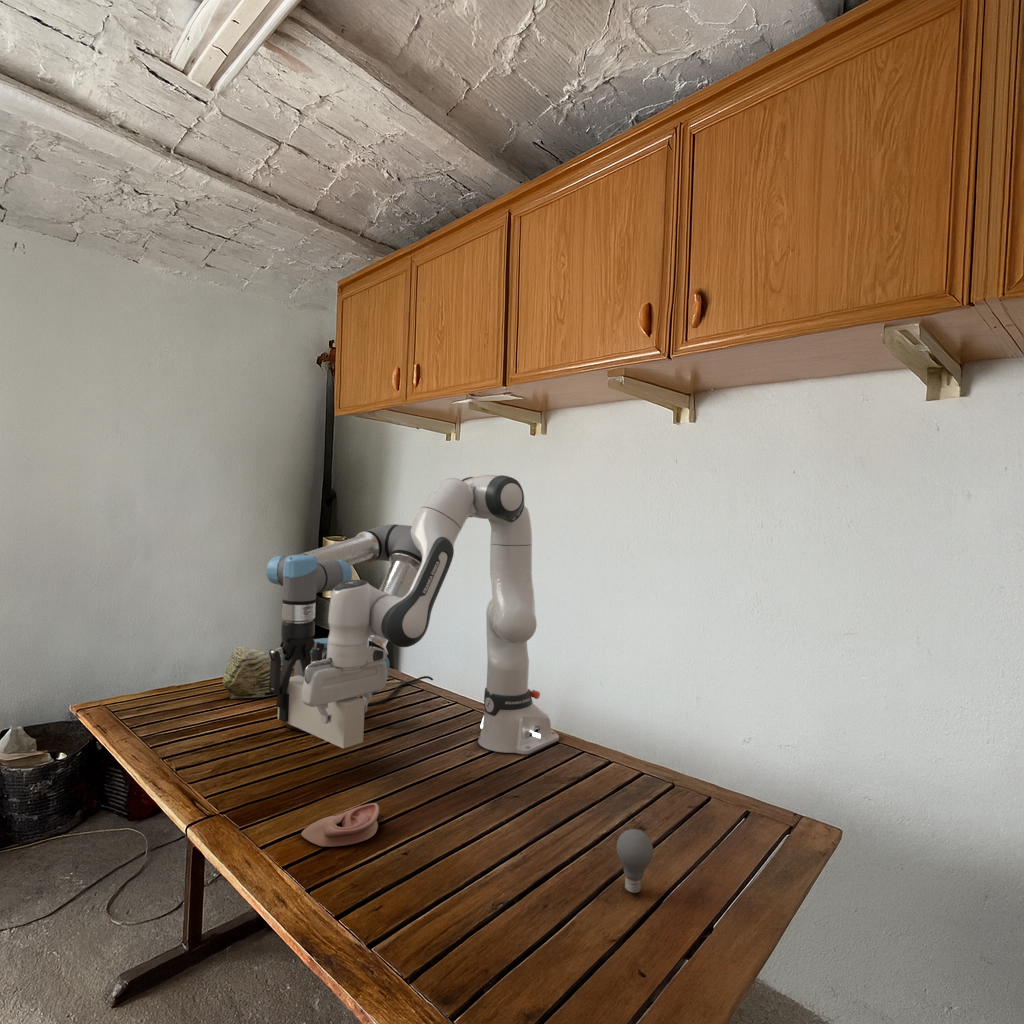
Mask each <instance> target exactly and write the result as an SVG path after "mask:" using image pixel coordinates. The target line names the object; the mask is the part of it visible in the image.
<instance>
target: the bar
mask: <svg viewBox="0 0 1024 1024" xmlns="http://www.w3.org/2000/svg"><path fill="white" fill-rule="evenodd" d="M303 683H304V677H302V676H300V675H297V676H294V675H291V676H290V680H289V684H288V688H287V691H286V693H288V694H289V714H288V722H285V724H286V723H288V724H290V725H293V726H295V727H297V728H299V729H301V730H304V731H306V732H305V733H307V734H310V735H313V736H314V737H317V738H319V739H321V740H324V741H325V742H328V743H330V744H332V745H333V746H336V747H339V748H341V749H346V748H350V747H353V746H356V745H359V744H362V743H364V729H365V713H364V709H365V699H363V697H359V696H355V697H351V698H348V699H344V700H340V701H336V702H332V703H328V708H326V711H327V713H329V714H331V715H332V718H331V722H330V723H327V724H323V723H321V714H320V712H319V711H318V709H317V706H316V707H310V706H308V705H305V704H304V703H303V702H302V700H301V696H302V688H303ZM277 720H279V707H277Z"/></svg>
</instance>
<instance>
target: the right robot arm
mask: <svg viewBox="0 0 1024 1024" xmlns="http://www.w3.org/2000/svg"><path fill="white" fill-rule="evenodd" d="M469 518H476V519H482V520H483V519H484V520H488V522H489V525H490V543H489V545H490V548H489V549H490V551H489V553H490V555H489V558H490V559H489V576H490V585H491V599H490V600H489V602H488V604H487V606H486V612H485V615H486V617H485V618H486V619H485V621H486V623H485V624H486V626H485V627H486V629H485V630H486V651H487V664H486V666H487V668H486V687H485V688H484V696H483V704H484V706H483V707H484V711H483V712H484V713H483V717H482V720H481V723H480V733H479V736H478V739H477V743H478V745H479V746H480V747H482V748H483V749H486V750H489V751H492V752H496V753H505V754H506V753H509V754H519V755H529V754H530V755H531V754H532V753H534V752H536V751H538V750H541V749H543V748H545V747H547V746H549V745H552V744H554V743H556V742H559V740H560V735H559V734H558V733H557V732H556V731H554V730H553V729H552V727H551V726H552V725H551V719H550V717H549V714H547V713H546V712H545V711H544V710H543V709H542V708H540V707H539V706H538V705H536V704H535V703H534V702H533V699H536V700H538V699H539V698H540V696H541V692H540V691H538V690H535V689H532V690H531V689H529V674H530V658H529V649H528V641H529V640H530V639H532V637H533V636H534V635H535V633H536V630H537V625H538V624H537V622H538V621H537V616H536V602H535V600H536V599H535V592H534V591H535V590H534V583H533V530H532V529H533V528H532V521H531V516H530V511H529V509H528V507H526V506H525V493H524V490H523V486H522V485H521V483H520V482H519V481H518V480H517V479H515V478H514V477H511V476H509V475H504V474H503V475H502V474H501V475H495V474H483V475H480V476H469V477H465V478H462V479H460V478H458V477H457V478H456V477H447V478H444V479H443V480H441V481H440V483H439V484H438V485H437V486H436V487H435V488H434V489H433V491H431V493H430V494H429V495H428V497H427V498H426V499H425V501H424V503H423V504H422V506H421V507H420V508H419V511H418V512H417V514H416V515H415V517H414V520H413V522H412V525H411V526H412V527H411V537H412V540H413V542H414V544H415V546H416V547H417V548H418V550H419V551H420V552H421V554H422V563H421V566H420V568H419V570H418V572H417V575H416V577H415V579H414V581H413V583H412V585H411V588H410V590H409V592H408V593H407V594H406V595H405V596H404V597H402V598H400V597H397V596H395V595H391V594H388V593H385V592H383V591H380V590H379V589H378V588H376V587H375V586H373V585H371V584H370V583H369V582H368V581H367V580H364V579H351V580H349V581H344V582H341V583H339V584H338V585H336V586H335V587H334V589H333V591H332V592H331V594H330V600H329V606H328V607H329V608H328V617H327V618H328V621H327V622H328V627H329V632H328V636H327V638H328V640H327V657H326V659H323V660H319V661H313V662H311V664H310V665H308V666H307V668H306V669H305V677H304V683H303V688H302V696H301V700H302V702H303V703H304V704H305V705H308V706H310V707H316V706H317V709H318V711H319V712H320V714H321V723H323V724H327V723H330V722H331V718H332V715H331V714H329V713H327V711H326V708H328V703H332V702H336V701H340V700H344V699H348V698H351V697H355V696H357V697H359V696H360V695H362V696H361V697H362V698H363V699H365V709H364V714H366V713H368V706H369V705H368V703H370V701H371V700H372V698H373V694H372V692H375V691H378V692H379V691H382V690H384V689H385V688H386V686H387V682H388V681H387V680H388V677H387V665H386V662H385V661H384V659H386V656H387V657H388V655H387V652H388V651H387V652H386V651H385V650H383V649H380V648H377V647H373V646H371V645H369V637H370V636H371V635H377V636H379V637H382V638H384V639H387V640H388V642H390V643H392V644H393V645H395V646H397V647H399V648H409V647H412V646H415V645H416V644H417V643H419V642H420V641H421V640H422V639H423V638H424V636H425V635H426V633H427V631H428V628H429V625H430V620H431V615H432V612H433V607H434V604H435V602H436V600H437V597H438V595H439V593H440V591H441V588H442V586H443V584H444V582H445V579H446V576H447V574H448V572H449V570H450V567H451V564H452V562H453V558H454V553H455V549H454V547H455V543H456V541H457V539H458V537H459V535H460V533H461V531H462V530H463V528H464V525H465V523H466V522H467V520H468V519H469ZM310 666H312V667H310ZM367 705H368V706H367Z"/></svg>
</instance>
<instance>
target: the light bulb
mask: <svg viewBox="0 0 1024 1024" xmlns="http://www.w3.org/2000/svg"><path fill="white" fill-rule="evenodd" d="M615 849H616V854H617V857H618V859H619V861H620V863H621V865H622V867H623V873H624V874H623V875H624V876H625V878H624V888H625V890H627V891H628V892H630V893H634V894H635V893H639V892H640V891H641V889H642V887H641V886H642V879H643V877H644V875H645V871H646V868H647V867H648V866H649V864H650V863H651V861H652V859H653V855H654V847H653V843H652V841H651V838H649V836H648V835H647V834H646V833H645V832H643V831H642V830H641V829H636V828H629V829H627V830H625V831H623V832H622V833H621V834H620V835H619V837H618V839H617V841H616V847H615Z"/></svg>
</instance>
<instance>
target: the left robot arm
mask: <svg viewBox="0 0 1024 1024" xmlns="http://www.w3.org/2000/svg"><path fill="white" fill-rule="evenodd" d="M411 527H412V525H407V524H406V525H405V524H394V523H393V524H386V525H381V526H377V527H373V528H369V529H367V530H363V531H361V532H358V533H357V534H356V535H355V537H351V538H348V539H345V540H342V541H339V542H335V543H331V544H328V545H326V546H322V547H318V548H316V549H311V550H309V551H306V552H302V553H298V554H292V555H291V554H290V555H276V556H273V557H272V558H271V559H270V560H269V561H268V563H267V565H266V569H265V571H266V577H267V578H266V579H268V581H269V582H270V583H271V584H274V585H278V586H279V585H280V586H281V587H282V606H281V620H282V622H281V632H280V636H281V643H280V645H279V647H277V648H275V649H269V650H268V654H269V655H268V656H269V658H271V665H270V681H269V691H271V692H273V693H276V707H277V708H278V707H279V719H278V720H279V721H281V722H284V723H285V726H286V728H287V729H289V730H291V731H294V732H295V731H296V732H301V733H307V732H306V731H304V730H301V729H299V728H297V727H295V726H293V725H290V724H288V723H286V722H288V714H289V694H288V693H286V691H287V688H288V684H289V680H290V677H292V673H293V676H297V675H300V676H302V677H305V669H306V668H307V666H308V665H310V664H311V662H313V661H319V660H323V659H326V657H327V640H328V637H322V638H314V637H315V633H316V630H315V629H316V622H315V619H316V602H317V594H318V593H325V592H331V591H333V589H334V587H335V586H336V585H338V584H339V583H341V582H344V581H349V580H353V570H352V567H351V566H353V565H356V564H359V563H362V562H363V563H372V562H375V561H383V562H385V561H386V562H389V564H390V566H389V568H388V570H387V572H386V575H385V577H384V579H383V580H382V583H381V585H380V587H379V589H378V590H380V591H383V592H385V593H388V594H391V595H395V596H397V597H400V598H402V597H404V596H405V595H406V594H407V593H408V592H409V590H410V588H411V585H412V583H413V581H414V579H415V577H416V575H417V572H418V570H419V568H420V566H421V563H422V554H421V552H420V551H419V550H418V548H417V547H416V546H415V544H414V542H413V540H412V537H411ZM388 642H389V641H388V640H387V639H384V638H382V637H379V636H377V635H371V636H370V637H369V645H371V646H373V647H377V648H380V649H383V650H385V651H386V652H387V656H386V659H384V661H385V662H386V665H387V678H388V677H389V674H390V670H389V669H390V666H391V665H390V660H389V658H388V655H389V652H388V649H387V644H388ZM282 657H283V658H282ZM310 667H312V666H310ZM280 673H281V674H280ZM424 679H429V680H430V681H434V678H433V677H431V676H428V675H424V676H420V677H418V678H415V679H412V680H409V681H405V682H403V683H400V684H399V685H397V686H395V688H394V690H393V691H392V692H391V694H389V695H388V696H386V697H385V698H383V699H380V700H376V701H371V702H369V703H368V705H367V707H368V706H373V705H378V704H382V703H385V702H386V701H388V700H389V699H390V698H392V697H393V696H394V695H395V694H396V693H397V691H398V690H399V689H400V688H402V687H403V686H406V685H409V684H412V683H415V682H418V681H420V680H421V681H422V680H424ZM378 692H379V691H375V692H372V695H375V694H376V693H378ZM359 696H361V697H363V696H362V695H359Z"/></svg>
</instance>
